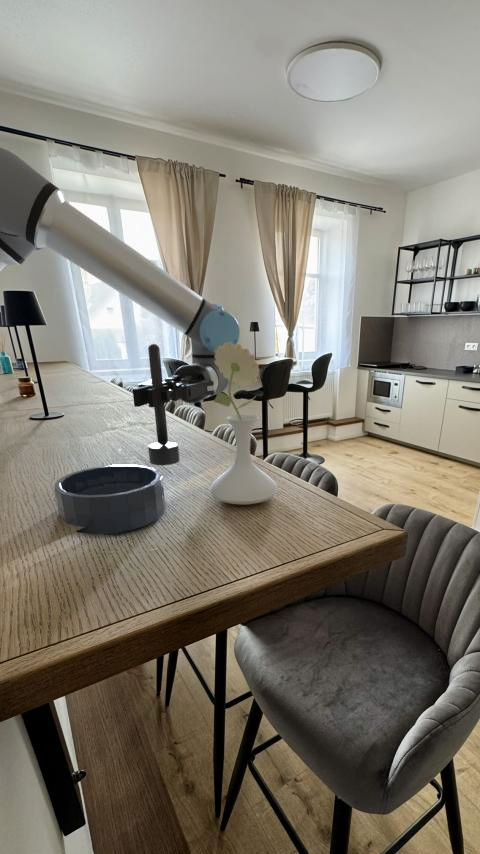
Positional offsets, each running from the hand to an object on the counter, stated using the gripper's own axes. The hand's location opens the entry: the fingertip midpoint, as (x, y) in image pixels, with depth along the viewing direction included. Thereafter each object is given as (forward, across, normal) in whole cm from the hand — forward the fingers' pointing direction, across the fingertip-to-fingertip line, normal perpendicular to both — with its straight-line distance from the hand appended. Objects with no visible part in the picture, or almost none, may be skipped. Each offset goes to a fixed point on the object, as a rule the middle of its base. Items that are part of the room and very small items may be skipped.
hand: (143, 398), depth 65 cm
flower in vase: (-2, -15, -17) cm, 23 cm away
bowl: (+10, +2, -16) cm, 19 cm away
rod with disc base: (-6, 0, -12) cm, 13 cm away
